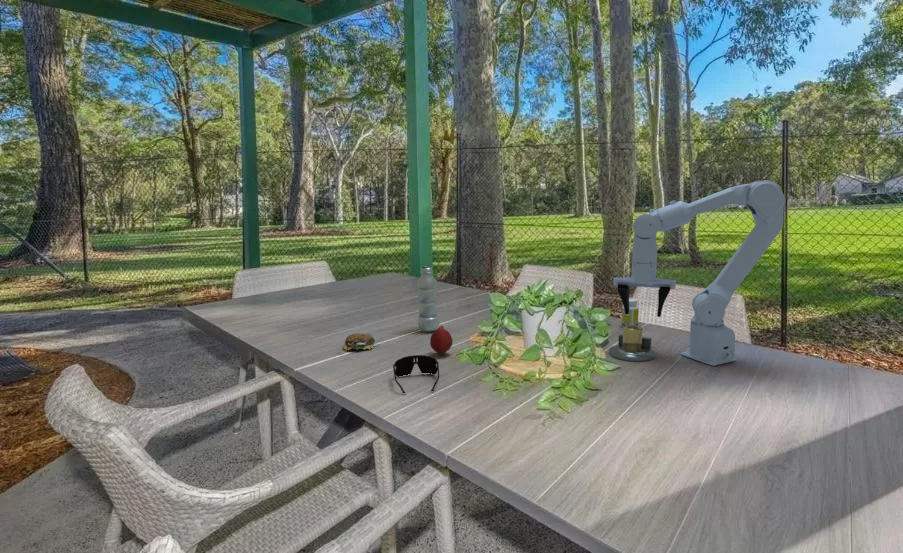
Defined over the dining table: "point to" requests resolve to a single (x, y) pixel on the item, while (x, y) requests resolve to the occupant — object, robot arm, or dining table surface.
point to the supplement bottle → (630, 314)
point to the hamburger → (359, 341)
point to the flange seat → (634, 357)
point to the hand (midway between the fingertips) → (642, 314)
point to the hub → (632, 338)
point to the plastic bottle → (427, 300)
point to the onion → (441, 340)
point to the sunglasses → (407, 364)
